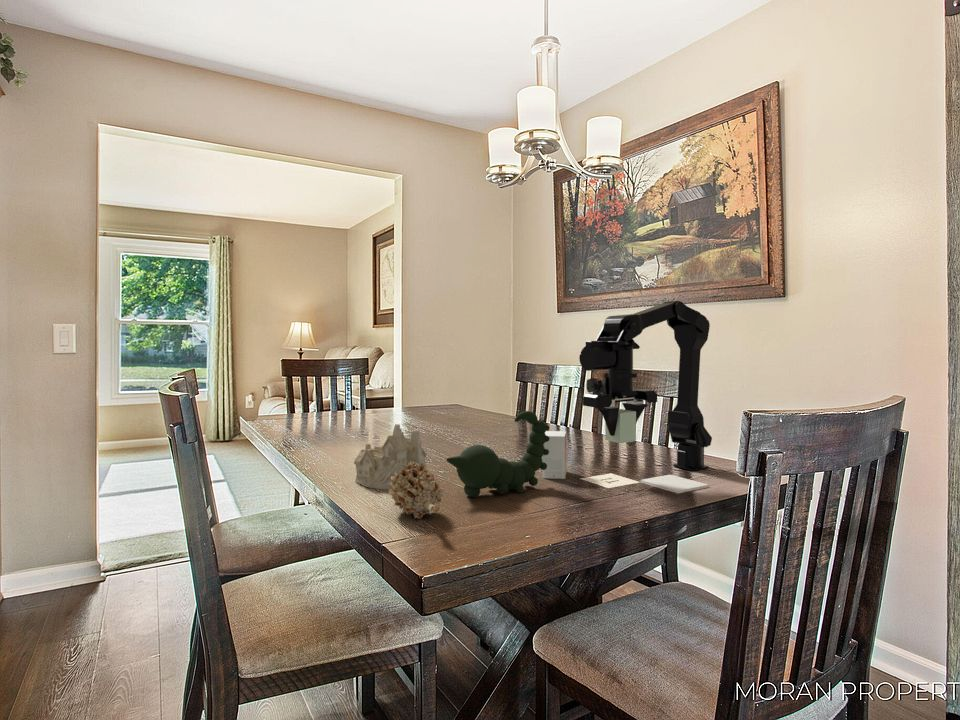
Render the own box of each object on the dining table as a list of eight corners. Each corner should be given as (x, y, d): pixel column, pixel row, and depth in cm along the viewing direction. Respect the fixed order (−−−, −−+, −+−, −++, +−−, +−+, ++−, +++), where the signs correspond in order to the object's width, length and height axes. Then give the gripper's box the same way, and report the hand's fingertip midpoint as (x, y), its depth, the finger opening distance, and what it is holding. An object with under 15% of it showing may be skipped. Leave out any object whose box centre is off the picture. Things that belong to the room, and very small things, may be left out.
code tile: (611, 474, 142) (611, 473, 142) (640, 483, 133) (640, 482, 133) (579, 480, 137) (579, 478, 137) (608, 489, 128) (608, 488, 128)
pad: (670, 476, 138) (670, 474, 138) (708, 487, 129) (708, 484, 129) (640, 482, 133) (640, 479, 133) (677, 493, 124) (677, 490, 124)
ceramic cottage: (441, 478, 138) (435, 417, 138) (388, 495, 126) (382, 428, 125) (399, 472, 148) (394, 415, 148) (347, 488, 136) (341, 426, 136)
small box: (565, 479, 136) (565, 436, 136) (542, 478, 137) (542, 435, 137) (567, 471, 144) (566, 430, 144) (545, 471, 145) (544, 430, 145)
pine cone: (380, 507, 115) (379, 459, 115) (424, 501, 120) (424, 454, 119) (418, 542, 96) (417, 484, 95) (469, 533, 100) (469, 477, 100)
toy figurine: (529, 488, 135) (434, 493, 123) (535, 409, 135) (440, 406, 123) (553, 497, 127) (453, 504, 115) (559, 413, 127) (460, 411, 115)
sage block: (621, 437, 138) (621, 409, 137) (636, 440, 133) (635, 411, 133) (605, 439, 135) (605, 410, 135) (620, 443, 131) (619, 413, 130)
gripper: (626, 365, 145) (626, 425, 146) (567, 368, 136) (568, 433, 137) (659, 367, 135) (659, 432, 136) (598, 371, 126) (598, 440, 127)
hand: (620, 434), depth 134 cm, fingers closed on sage block, 5 cm apart
